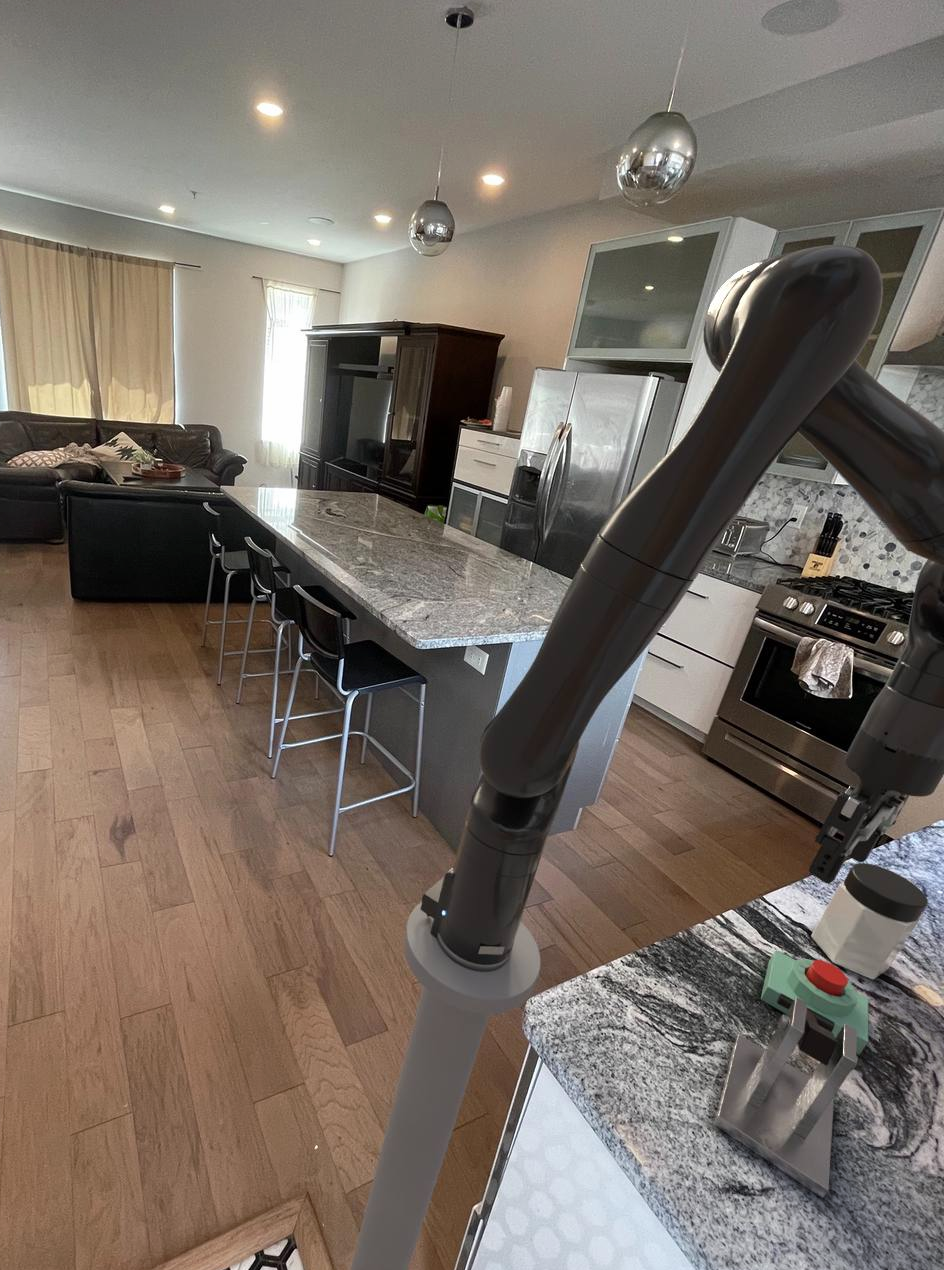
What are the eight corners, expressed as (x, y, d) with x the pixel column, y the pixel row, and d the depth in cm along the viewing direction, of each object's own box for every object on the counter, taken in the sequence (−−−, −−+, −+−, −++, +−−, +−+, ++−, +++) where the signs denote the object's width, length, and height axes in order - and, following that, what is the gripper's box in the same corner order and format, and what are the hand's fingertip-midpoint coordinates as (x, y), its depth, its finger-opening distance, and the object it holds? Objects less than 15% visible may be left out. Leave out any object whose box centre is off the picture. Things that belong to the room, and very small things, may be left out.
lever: (773, 1006, 69) (782, 986, 69) (826, 1036, 66) (836, 1015, 66) (782, 1040, 59) (792, 1016, 58) (845, 1077, 56) (856, 1052, 56)
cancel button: (805, 983, 74) (811, 972, 73) (807, 965, 77) (813, 954, 76) (840, 1002, 72) (847, 991, 71) (841, 983, 75) (848, 972, 74)
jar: (881, 950, 87) (924, 882, 82) (893, 990, 80) (940, 918, 76) (807, 919, 90) (844, 852, 86) (813, 955, 84) (853, 885, 79)
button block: (760, 999, 75) (773, 975, 74) (768, 962, 81) (780, 938, 80) (859, 1055, 70) (875, 1030, 68) (860, 1010, 76) (875, 986, 75)
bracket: (734, 1041, 69) (777, 962, 65) (829, 1098, 64) (882, 1017, 60) (713, 1124, 60) (762, 1039, 55) (822, 1198, 55) (885, 1111, 51)
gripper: (890, 711, 69) (827, 832, 75) (836, 729, 61) (770, 862, 67) (976, 744, 63) (900, 871, 70) (928, 769, 56) (847, 910, 62)
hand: (836, 867), depth 68 cm, fingers open, 8 cm apart
